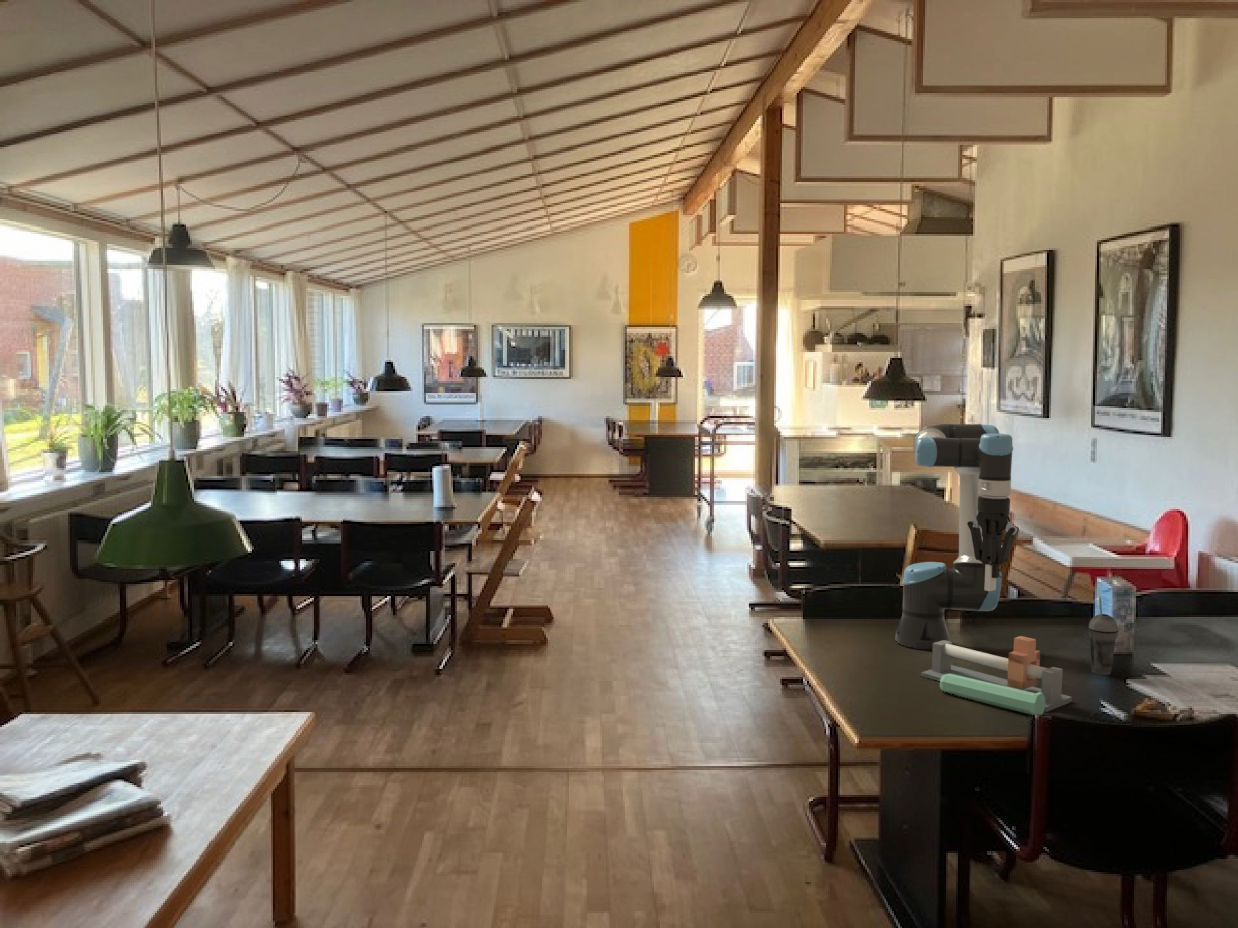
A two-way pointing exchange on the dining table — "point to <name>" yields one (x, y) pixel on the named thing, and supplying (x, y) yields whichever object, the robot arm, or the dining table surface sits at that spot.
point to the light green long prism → (993, 694)
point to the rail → (993, 680)
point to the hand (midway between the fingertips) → (990, 589)
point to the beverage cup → (1102, 642)
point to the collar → (1022, 663)
